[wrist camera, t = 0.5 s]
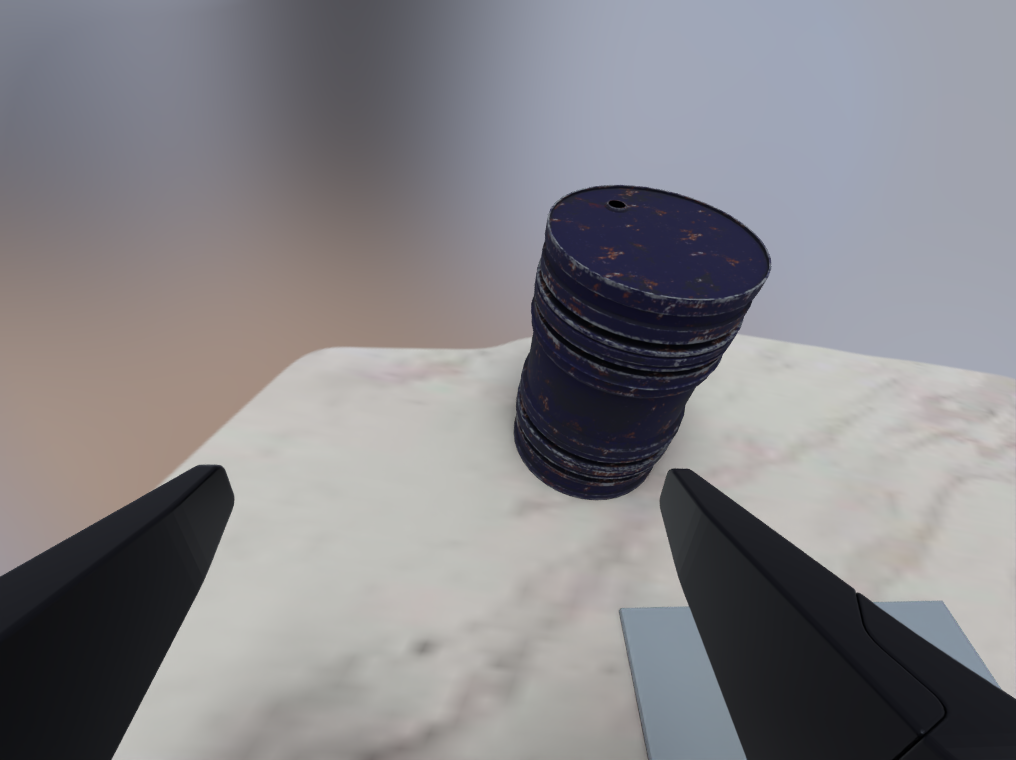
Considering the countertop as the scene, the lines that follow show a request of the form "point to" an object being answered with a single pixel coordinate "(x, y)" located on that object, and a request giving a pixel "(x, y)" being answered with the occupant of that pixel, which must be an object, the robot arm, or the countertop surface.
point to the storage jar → (627, 330)
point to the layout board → (694, 688)
